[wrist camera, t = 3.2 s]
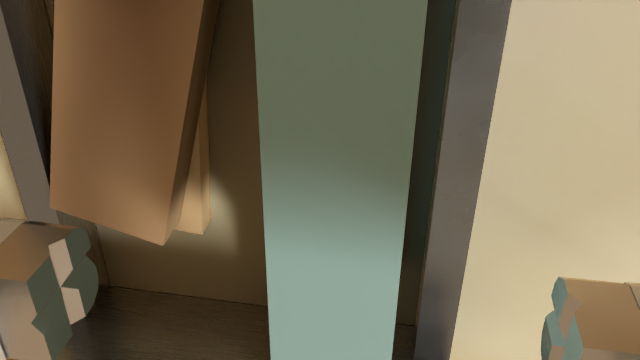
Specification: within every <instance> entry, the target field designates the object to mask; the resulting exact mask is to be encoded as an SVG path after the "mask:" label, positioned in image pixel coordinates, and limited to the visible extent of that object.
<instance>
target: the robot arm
mask: <svg viewBox="0 0 640 360" xmlns="http://www.w3.org/2000/svg"><path fill="white" fill-rule="evenodd" d="M90 247H91V244H90V241H89V237H88V234H87V231H86V230H84V229H82V228H81V227H76V226H68V225H61V224H53V223H45V222H37V221H26V220H18V219H10V218H4V219H0V360H6V358H9V359H18V360H55V359H56V358H57V357H58V355H59V354H60V352H61V351H62V349H63V348H64V347H65V345H66V344H67V342H68V341H69V340H70V338H71V337H72V335H73V333H72V327H71V324H73V323H75V322H77V321H78V320H80V319H82V318H84V317H86V315H87V314H88V312H89V311H90V309H91V308H92V306H93V305H94V301H95V298H96V295H97V291H98V273H97V268H96V265H95V264H94V263H93V262H92V261H91V260H90V259H89V258H88V257H87V256H86V253H87V252H88V250H89V249H90ZM551 296H552V301H553V305H554V309H555V310H554V311H552V312H551V313H550V314H548V315H547V316H546V317H545V322H544V326H543V330H542V340H541V356H542V360H640V284H639V283H626V282H625V283H616V282H606V281H596V280H586V279H576V278H566V277H558V279H557V281H556V282H555V285H554V288H553V292H552V295H551Z"/></svg>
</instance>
